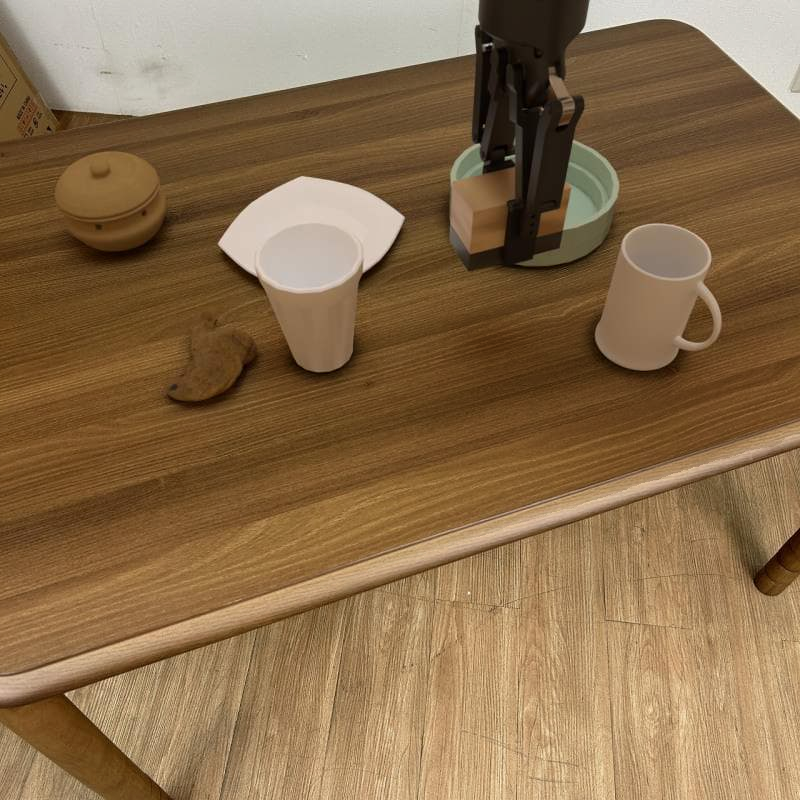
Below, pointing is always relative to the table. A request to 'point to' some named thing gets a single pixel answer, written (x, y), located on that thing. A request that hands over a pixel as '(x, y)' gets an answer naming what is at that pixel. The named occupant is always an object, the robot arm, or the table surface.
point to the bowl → (586, 205)
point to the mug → (655, 297)
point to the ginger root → (212, 360)
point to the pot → (111, 200)
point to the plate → (313, 218)
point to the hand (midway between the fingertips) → (504, 241)
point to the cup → (313, 289)
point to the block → (494, 219)
